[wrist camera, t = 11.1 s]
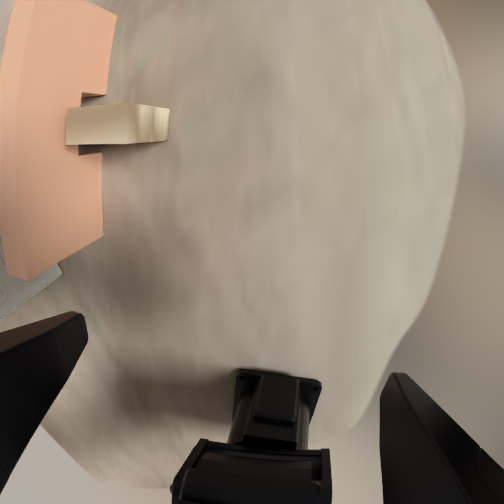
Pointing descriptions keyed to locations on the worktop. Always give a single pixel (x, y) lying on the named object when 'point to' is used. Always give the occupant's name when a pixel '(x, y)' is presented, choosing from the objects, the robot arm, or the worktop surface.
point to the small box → (21, 286)
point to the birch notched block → (116, 124)
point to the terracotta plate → (49, 131)
